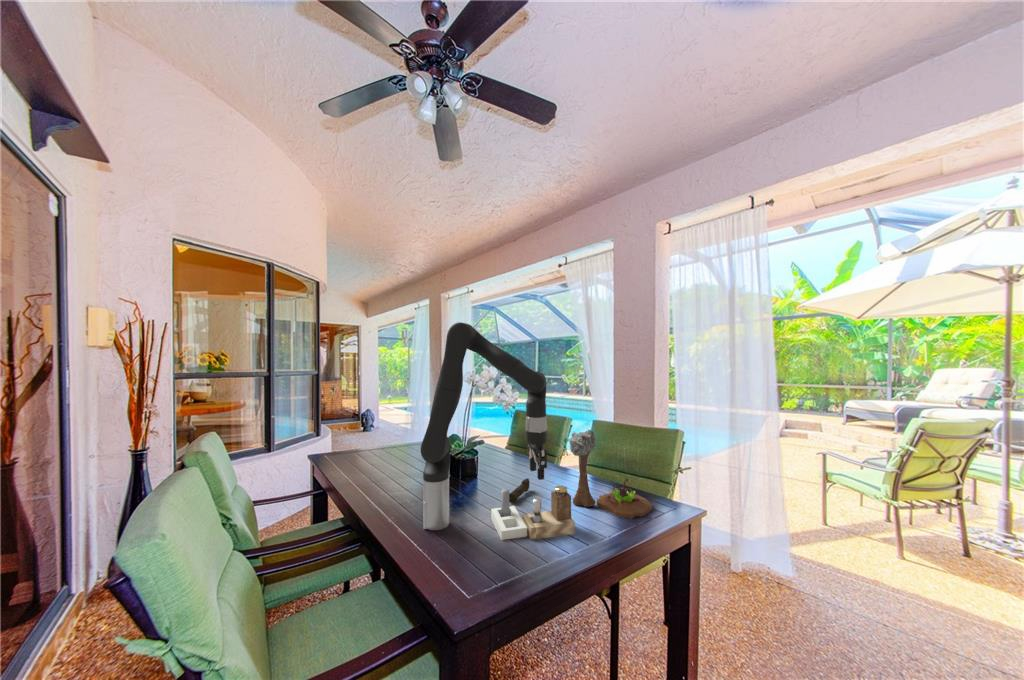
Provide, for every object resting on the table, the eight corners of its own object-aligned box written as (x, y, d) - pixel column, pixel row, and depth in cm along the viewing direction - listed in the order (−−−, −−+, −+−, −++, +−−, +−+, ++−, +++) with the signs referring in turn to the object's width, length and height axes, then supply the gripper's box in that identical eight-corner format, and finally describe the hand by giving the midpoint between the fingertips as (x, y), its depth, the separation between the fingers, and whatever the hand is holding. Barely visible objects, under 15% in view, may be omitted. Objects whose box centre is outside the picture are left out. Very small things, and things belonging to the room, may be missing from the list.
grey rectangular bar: (534, 536, 126) (534, 501, 126) (532, 532, 129) (531, 498, 129) (542, 535, 127) (542, 500, 127) (540, 531, 130) (539, 497, 130)
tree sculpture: (594, 513, 142) (593, 437, 142) (568, 510, 145) (567, 435, 146) (597, 498, 156) (597, 428, 156) (574, 495, 160) (573, 426, 160)
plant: (661, 510, 145) (661, 482, 145) (628, 524, 135) (628, 493, 135) (621, 492, 162) (621, 467, 162) (589, 503, 152) (589, 476, 152)
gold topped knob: (557, 511, 127) (557, 491, 127) (553, 505, 132) (552, 486, 132) (569, 509, 129) (569, 489, 129) (564, 504, 133) (564, 485, 133)
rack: (501, 543, 122) (501, 507, 122) (491, 519, 138) (491, 487, 138) (527, 539, 124) (526, 504, 124) (514, 516, 141) (514, 485, 141)
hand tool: (515, 504, 150) (515, 492, 150) (506, 502, 152) (506, 491, 152) (534, 488, 167) (534, 478, 167) (526, 486, 169) (526, 476, 169)
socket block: (530, 543, 122) (530, 504, 122) (522, 528, 132) (522, 492, 132) (574, 536, 126) (574, 498, 126) (563, 522, 136) (563, 487, 136)
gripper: (520, 425, 134) (521, 469, 134) (532, 434, 120) (533, 483, 120) (539, 423, 136) (540, 467, 136) (553, 432, 122) (554, 481, 122)
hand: (536, 474), depth 128 cm, fingers open, 8 cm apart
